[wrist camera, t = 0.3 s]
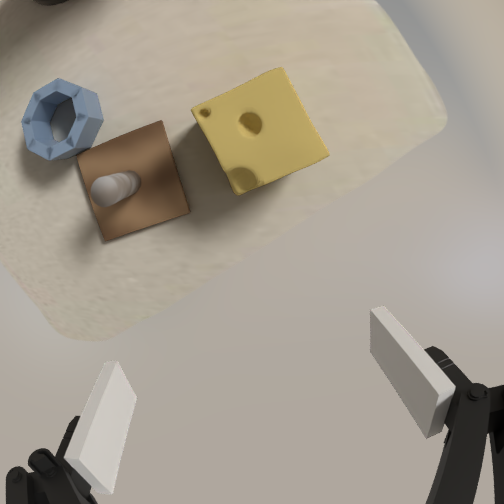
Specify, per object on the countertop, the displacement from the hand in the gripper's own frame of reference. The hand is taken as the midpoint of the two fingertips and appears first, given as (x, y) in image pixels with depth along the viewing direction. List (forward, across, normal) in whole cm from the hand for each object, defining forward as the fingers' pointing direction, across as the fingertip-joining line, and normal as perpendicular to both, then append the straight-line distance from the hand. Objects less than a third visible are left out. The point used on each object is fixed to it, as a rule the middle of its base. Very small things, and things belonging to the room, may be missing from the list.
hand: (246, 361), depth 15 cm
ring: (+27, -18, +19) cm, 38 cm away
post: (+27, -11, +9) cm, 30 cm away
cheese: (+27, +5, +11) cm, 30 cm away
